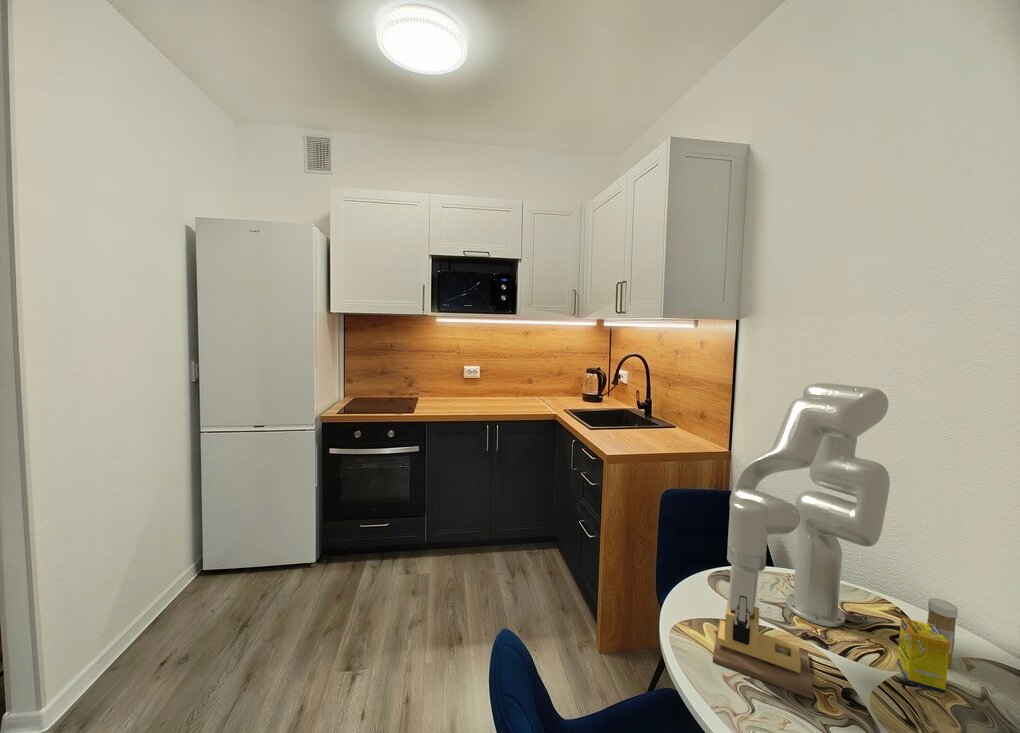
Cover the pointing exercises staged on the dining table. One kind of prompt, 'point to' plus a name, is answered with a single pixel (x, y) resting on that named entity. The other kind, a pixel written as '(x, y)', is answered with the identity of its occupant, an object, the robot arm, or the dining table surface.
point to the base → (767, 668)
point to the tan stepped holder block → (759, 642)
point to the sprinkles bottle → (943, 620)
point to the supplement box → (923, 655)
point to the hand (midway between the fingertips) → (741, 631)
